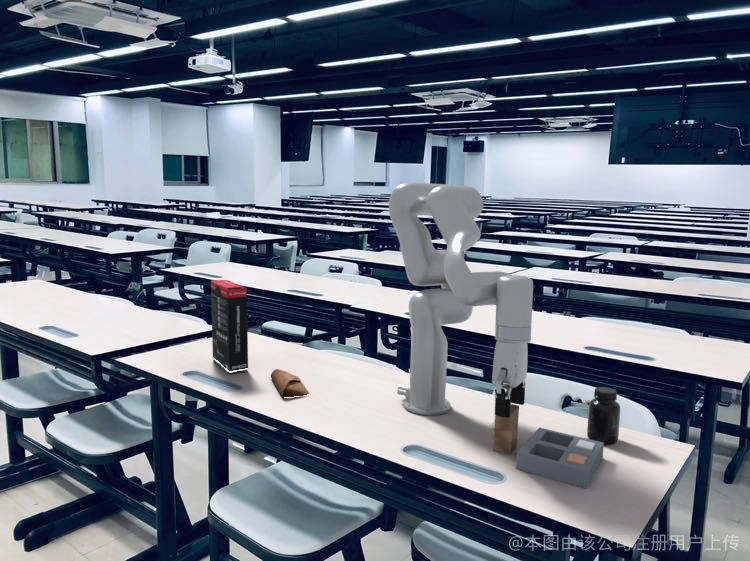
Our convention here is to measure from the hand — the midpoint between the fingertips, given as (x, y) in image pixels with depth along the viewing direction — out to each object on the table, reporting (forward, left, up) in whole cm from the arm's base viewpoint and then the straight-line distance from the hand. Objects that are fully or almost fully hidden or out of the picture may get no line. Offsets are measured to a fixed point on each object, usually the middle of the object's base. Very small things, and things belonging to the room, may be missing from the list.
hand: (509, 409), depth 121 cm
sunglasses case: (-66, +3, -10) cm, 67 cm away
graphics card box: (-95, +7, -10) cm, 95 cm away
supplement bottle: (+16, +19, -10) cm, 27 cm away
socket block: (+11, +1, -10) cm, 15 cm away
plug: (-1, 0, -10) cm, 10 cm away
